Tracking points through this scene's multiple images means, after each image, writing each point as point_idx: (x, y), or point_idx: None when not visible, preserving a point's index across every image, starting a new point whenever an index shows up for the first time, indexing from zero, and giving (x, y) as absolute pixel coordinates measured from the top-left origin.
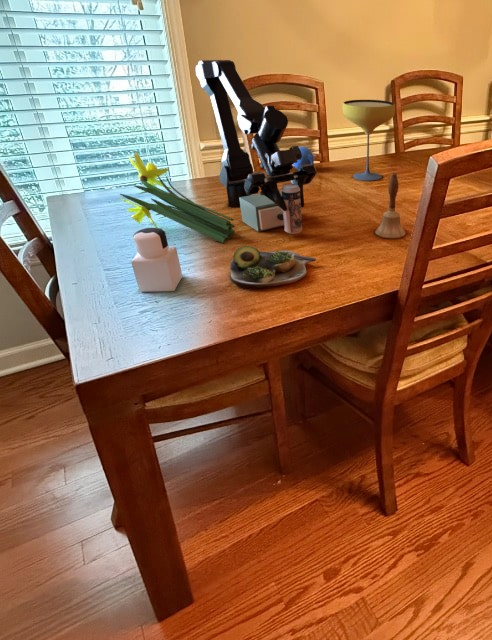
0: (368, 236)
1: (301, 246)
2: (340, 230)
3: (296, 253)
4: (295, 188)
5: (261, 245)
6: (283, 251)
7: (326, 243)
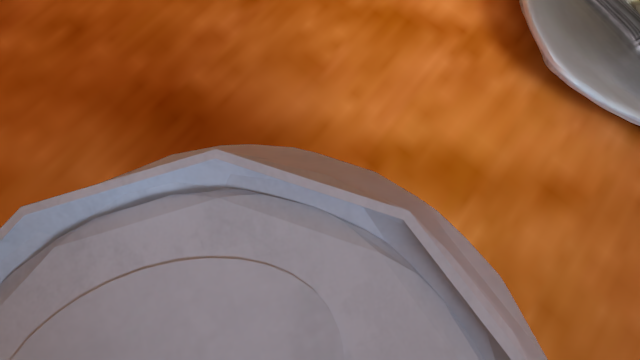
0: (7, 27)
1: (385, 158)
2: (26, 197)
3: (533, 4)
4: (221, 154)
5: (598, 355)
6: (584, 75)
7: (243, 98)
